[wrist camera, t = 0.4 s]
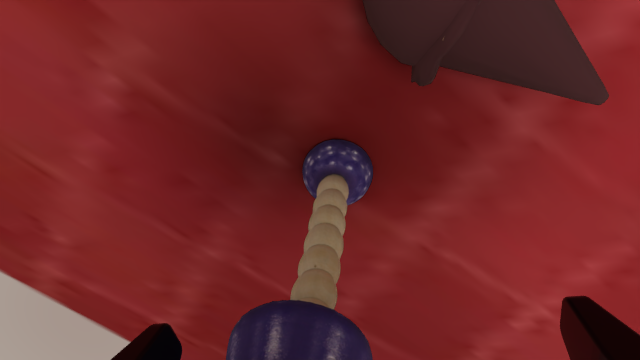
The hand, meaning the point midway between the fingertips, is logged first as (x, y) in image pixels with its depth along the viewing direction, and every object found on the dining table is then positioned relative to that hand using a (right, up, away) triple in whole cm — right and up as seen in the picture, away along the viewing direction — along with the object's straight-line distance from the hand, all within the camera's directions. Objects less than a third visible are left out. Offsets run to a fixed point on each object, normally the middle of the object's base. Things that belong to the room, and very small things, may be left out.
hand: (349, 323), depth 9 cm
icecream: (+5, +12, +10) cm, 17 cm away
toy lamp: (0, +4, +15) cm, 16 cm away
